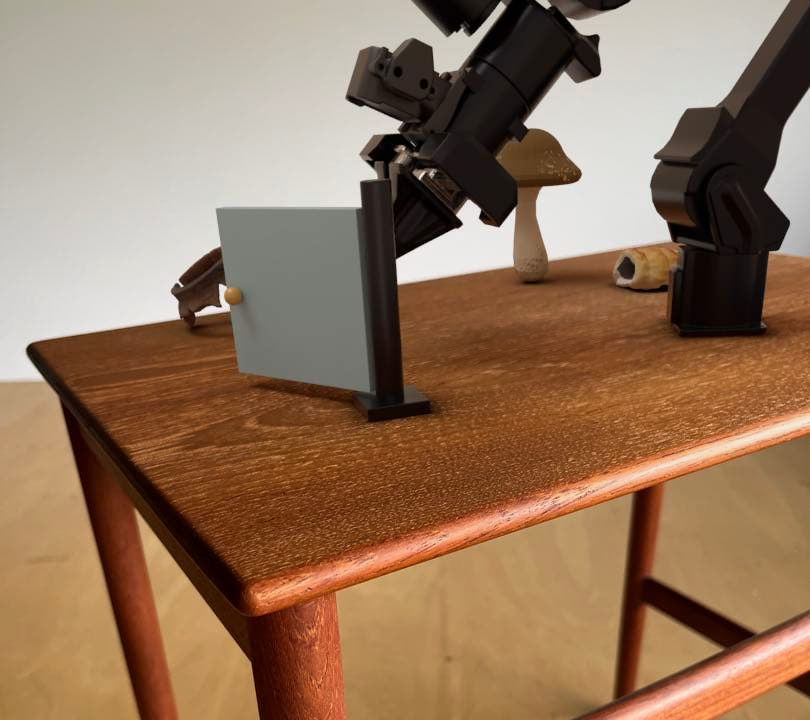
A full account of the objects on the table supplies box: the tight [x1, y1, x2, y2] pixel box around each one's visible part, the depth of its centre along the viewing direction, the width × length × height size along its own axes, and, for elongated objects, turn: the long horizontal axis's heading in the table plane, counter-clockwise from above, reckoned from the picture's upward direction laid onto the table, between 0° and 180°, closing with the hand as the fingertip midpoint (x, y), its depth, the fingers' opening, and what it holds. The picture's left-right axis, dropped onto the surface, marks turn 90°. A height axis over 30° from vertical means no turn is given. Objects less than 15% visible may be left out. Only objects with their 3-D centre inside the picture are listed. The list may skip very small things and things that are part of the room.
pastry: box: [612, 245, 678, 291], centre depth 88 cm, size 9×7×4 cm
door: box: [215, 206, 375, 393], centre depth 57 cm, size 12×2×11 cm, turn 53°
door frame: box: [351, 178, 431, 422], centre depth 53 cm, size 4×4×14 cm
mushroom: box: [496, 127, 583, 283], centre depth 92 cm, size 9×11×15 cm
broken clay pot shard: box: [170, 245, 227, 328], centre depth 83 cm, size 12×10×8 cm
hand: (357, 272), depth 63 cm, fingers closed
